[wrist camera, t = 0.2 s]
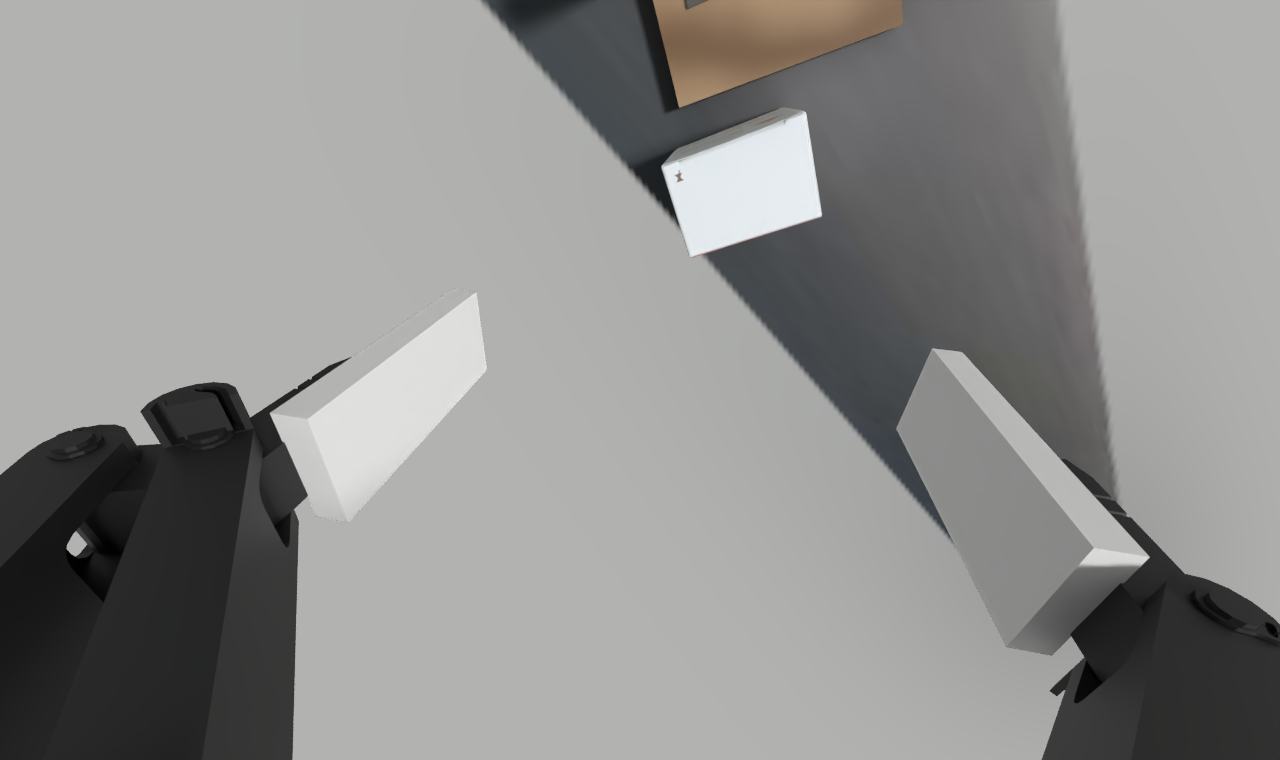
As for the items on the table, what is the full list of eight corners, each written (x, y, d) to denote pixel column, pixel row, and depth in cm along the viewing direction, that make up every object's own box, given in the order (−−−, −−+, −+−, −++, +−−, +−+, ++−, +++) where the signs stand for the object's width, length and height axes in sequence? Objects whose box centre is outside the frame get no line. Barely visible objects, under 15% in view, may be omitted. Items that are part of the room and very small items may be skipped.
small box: (696, 220, 37) (686, 261, 28) (675, 146, 34) (656, 166, 26) (800, 186, 34) (824, 219, 26) (785, 104, 32) (807, 109, 23)
